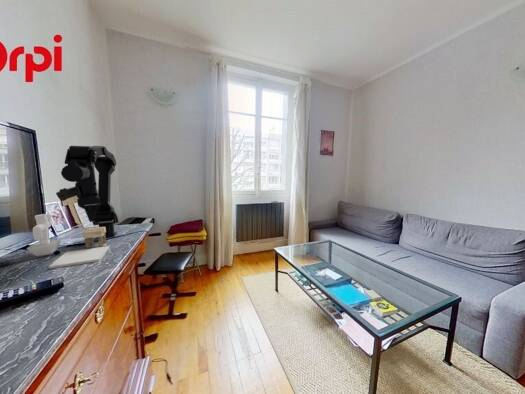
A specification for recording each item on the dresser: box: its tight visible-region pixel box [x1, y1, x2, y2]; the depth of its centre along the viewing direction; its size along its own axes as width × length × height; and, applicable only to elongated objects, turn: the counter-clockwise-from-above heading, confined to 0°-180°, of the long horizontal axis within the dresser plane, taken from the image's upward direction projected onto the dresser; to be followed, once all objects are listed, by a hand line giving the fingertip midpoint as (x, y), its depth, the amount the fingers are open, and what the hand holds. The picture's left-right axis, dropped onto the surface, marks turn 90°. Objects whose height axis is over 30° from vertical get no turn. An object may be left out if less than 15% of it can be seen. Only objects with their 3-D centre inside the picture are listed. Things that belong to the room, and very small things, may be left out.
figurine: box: [26, 213, 62, 257], centre depth 76 cm, size 7×9×15 cm
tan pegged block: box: [82, 226, 107, 249], centre depth 84 cm, size 6×6×7 cm
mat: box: [48, 245, 110, 270], centre depth 73 cm, size 13×13×1 cm
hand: (91, 219), depth 80 cm, fingers open, 9 cm apart
